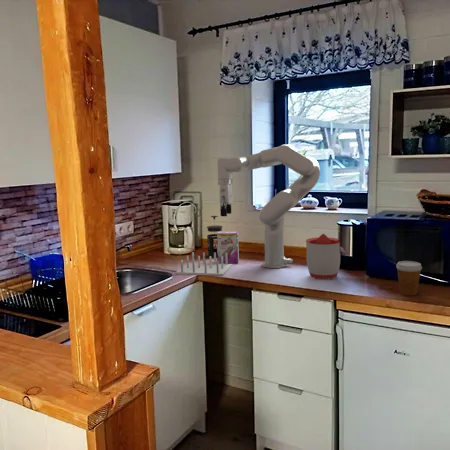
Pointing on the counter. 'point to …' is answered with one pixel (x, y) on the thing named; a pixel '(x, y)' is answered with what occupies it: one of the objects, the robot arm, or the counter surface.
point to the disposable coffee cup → (408, 276)
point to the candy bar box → (227, 247)
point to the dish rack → (205, 267)
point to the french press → (210, 238)
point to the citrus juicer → (323, 257)
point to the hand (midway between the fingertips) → (226, 214)
